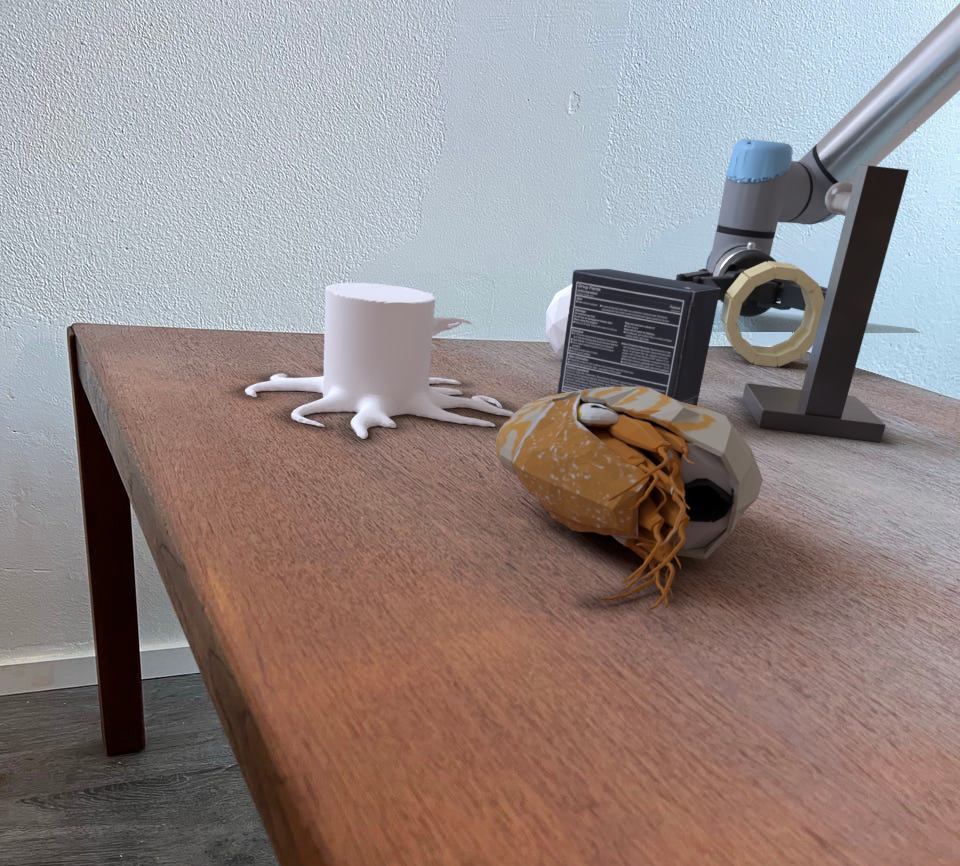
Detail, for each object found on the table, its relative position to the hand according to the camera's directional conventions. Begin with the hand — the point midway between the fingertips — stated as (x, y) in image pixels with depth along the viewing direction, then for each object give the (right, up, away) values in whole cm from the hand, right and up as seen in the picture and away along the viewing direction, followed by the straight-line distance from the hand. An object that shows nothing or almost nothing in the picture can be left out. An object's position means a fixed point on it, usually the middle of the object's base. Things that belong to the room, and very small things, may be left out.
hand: (776, 307), depth 104 cm
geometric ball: (-21, -8, -6) cm, 23 cm away
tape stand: (-2, -15, -16) cm, 22 cm away
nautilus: (-24, -30, -49) cm, 62 cm away
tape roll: (0, -5, +4) cm, 6 cm away
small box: (-19, -16, -21) cm, 32 cm away
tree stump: (-39, -16, -26) cm, 50 cm away
